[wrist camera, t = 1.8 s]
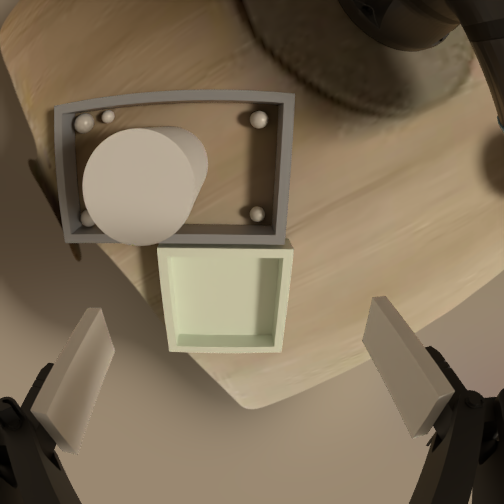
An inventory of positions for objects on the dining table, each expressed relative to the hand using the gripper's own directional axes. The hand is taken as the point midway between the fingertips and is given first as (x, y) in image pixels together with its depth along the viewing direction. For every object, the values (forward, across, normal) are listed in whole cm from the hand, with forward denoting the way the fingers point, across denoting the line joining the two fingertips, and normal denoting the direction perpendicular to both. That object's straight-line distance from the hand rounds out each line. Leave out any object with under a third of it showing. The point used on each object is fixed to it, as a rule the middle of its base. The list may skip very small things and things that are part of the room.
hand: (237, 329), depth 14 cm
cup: (+20, -6, +5) cm, 22 cm away
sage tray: (+20, -1, -10) cm, 23 cm away
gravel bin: (+20, -6, +5) cm, 22 cm away
